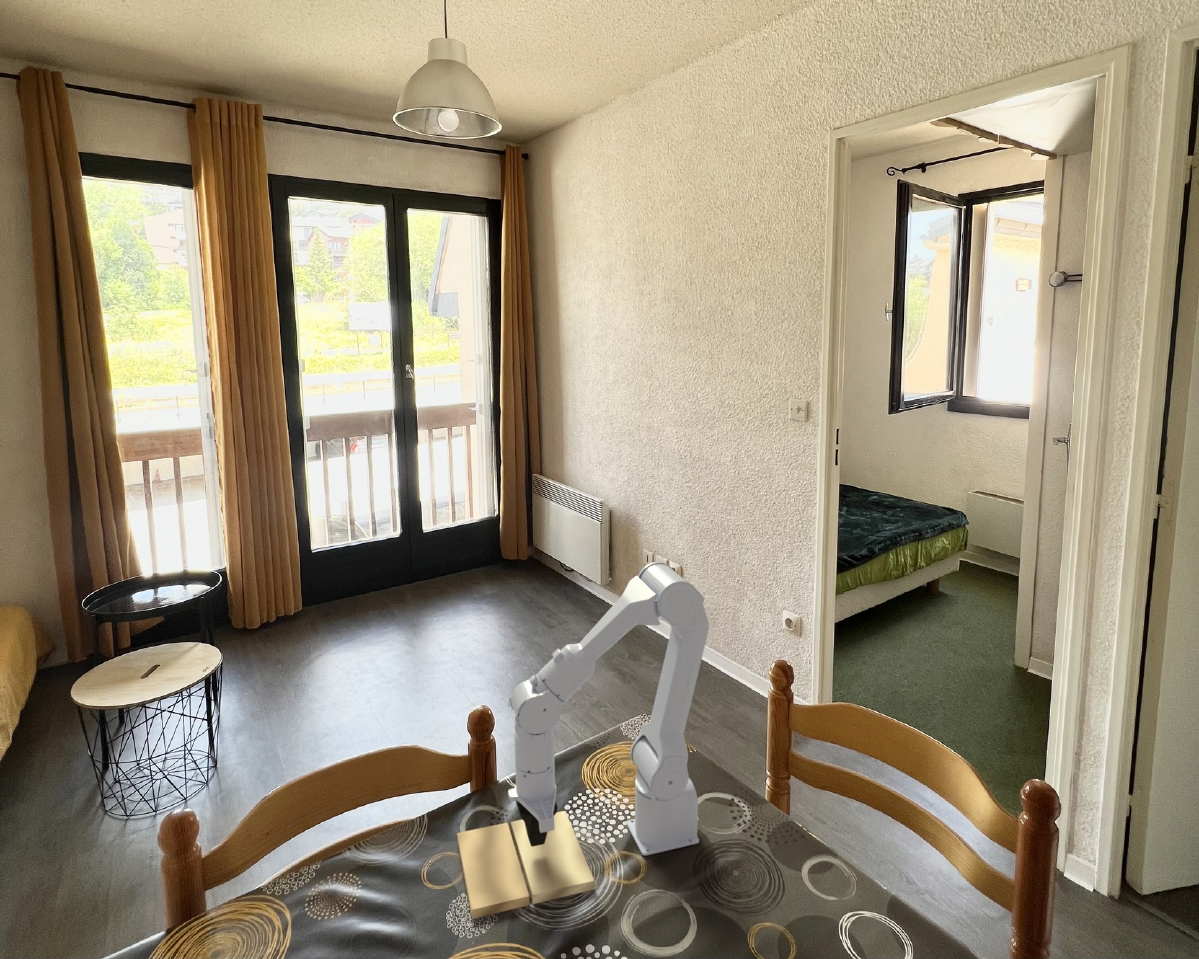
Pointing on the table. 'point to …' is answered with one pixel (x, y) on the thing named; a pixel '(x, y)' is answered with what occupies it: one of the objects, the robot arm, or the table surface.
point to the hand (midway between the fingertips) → (536, 842)
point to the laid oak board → (491, 870)
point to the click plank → (553, 861)
